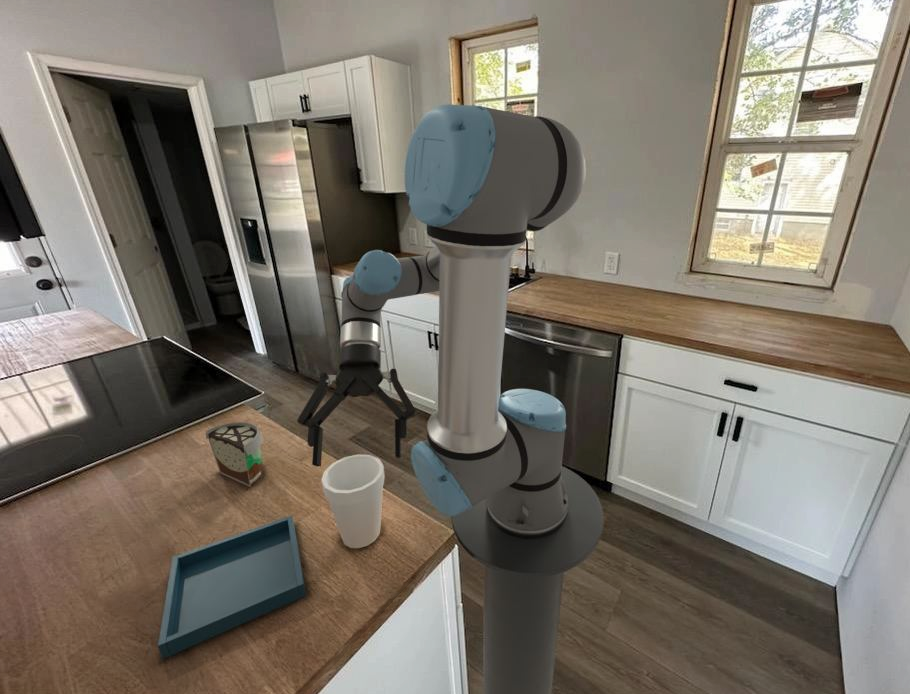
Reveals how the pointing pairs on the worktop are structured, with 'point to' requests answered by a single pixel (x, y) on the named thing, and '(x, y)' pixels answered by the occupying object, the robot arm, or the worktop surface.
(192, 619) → the tray
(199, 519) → the worktop surface
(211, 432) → the food container
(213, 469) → the worktop surface
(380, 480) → the foam cup
